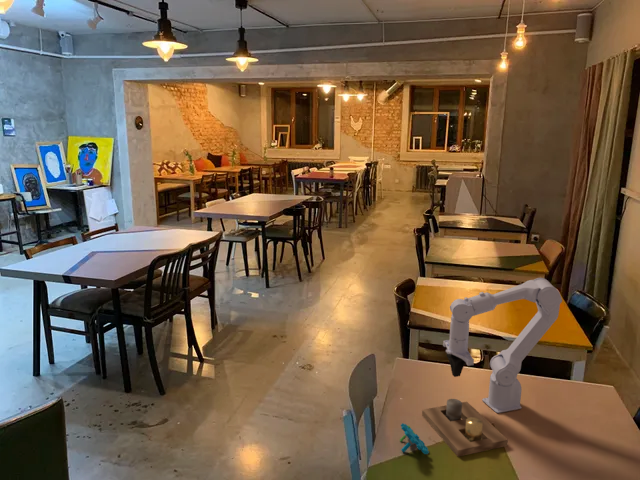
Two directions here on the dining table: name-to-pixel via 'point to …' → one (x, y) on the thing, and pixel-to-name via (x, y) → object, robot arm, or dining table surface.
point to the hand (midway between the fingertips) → (456, 375)
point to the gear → (412, 439)
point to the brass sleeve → (473, 429)
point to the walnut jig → (462, 428)
